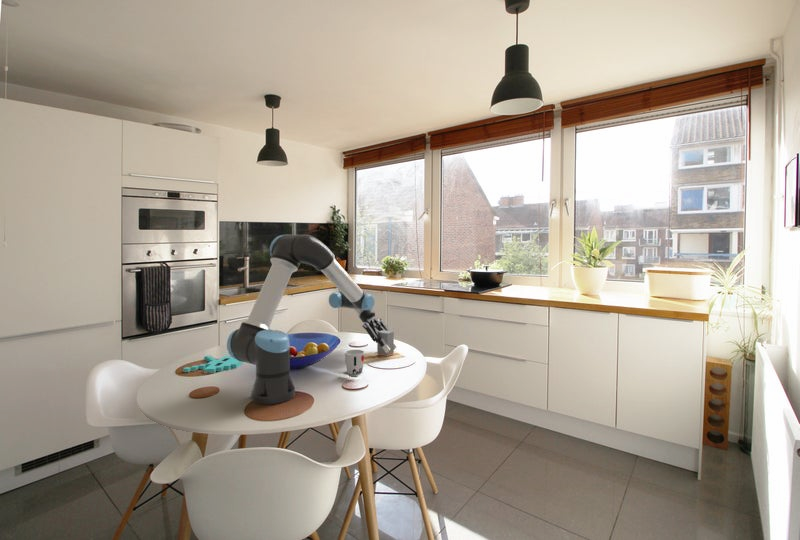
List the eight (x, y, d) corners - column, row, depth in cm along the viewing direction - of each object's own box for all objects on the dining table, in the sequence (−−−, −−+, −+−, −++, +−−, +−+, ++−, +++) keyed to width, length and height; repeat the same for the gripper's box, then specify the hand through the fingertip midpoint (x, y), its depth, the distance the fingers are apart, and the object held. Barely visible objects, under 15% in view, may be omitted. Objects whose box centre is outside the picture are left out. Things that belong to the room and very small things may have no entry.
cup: (352, 380, 164) (352, 356, 163) (341, 375, 170) (341, 351, 169) (368, 375, 169) (368, 352, 169) (357, 370, 176) (357, 348, 175)
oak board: (405, 359, 192) (405, 356, 192) (359, 367, 180) (359, 364, 180) (391, 352, 204) (391, 349, 204) (347, 359, 192) (347, 356, 192)
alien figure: (183, 373, 172) (229, 374, 172) (183, 368, 172) (229, 369, 172) (206, 359, 192) (248, 360, 192) (206, 355, 192) (248, 355, 192)
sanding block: (393, 354, 195) (393, 331, 194) (387, 356, 191) (387, 333, 190) (383, 352, 198) (383, 329, 197) (377, 354, 194) (377, 331, 193)
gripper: (371, 314, 209) (397, 350, 201) (348, 319, 194) (375, 358, 186) (380, 304, 206) (406, 341, 198) (357, 309, 191) (385, 349, 183)
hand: (391, 349), depth 192 cm, fingers closed on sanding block, 5 cm apart
